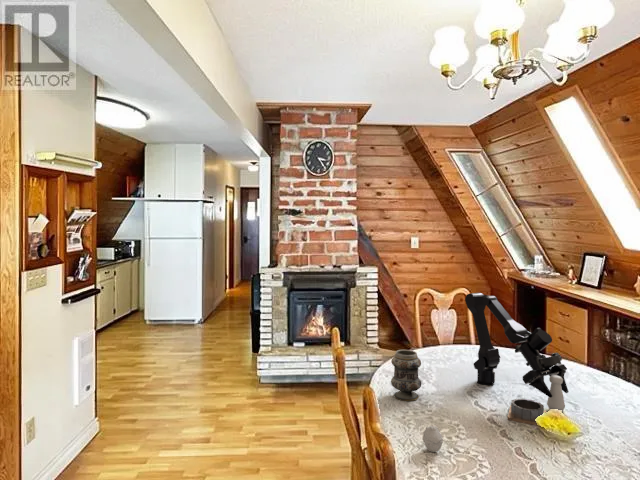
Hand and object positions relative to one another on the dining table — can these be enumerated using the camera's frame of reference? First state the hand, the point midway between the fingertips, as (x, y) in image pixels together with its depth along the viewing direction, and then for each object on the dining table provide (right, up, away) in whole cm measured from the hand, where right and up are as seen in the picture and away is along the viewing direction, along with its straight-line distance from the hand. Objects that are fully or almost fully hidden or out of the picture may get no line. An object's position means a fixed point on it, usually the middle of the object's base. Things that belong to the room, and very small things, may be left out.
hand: (559, 394), depth 157 cm
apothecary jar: (-53, -7, +16) cm, 56 cm away
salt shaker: (-1, -7, +1) cm, 7 cm away
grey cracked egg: (-53, -8, -26) cm, 59 cm away
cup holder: (-13, -7, -3) cm, 15 cm away
